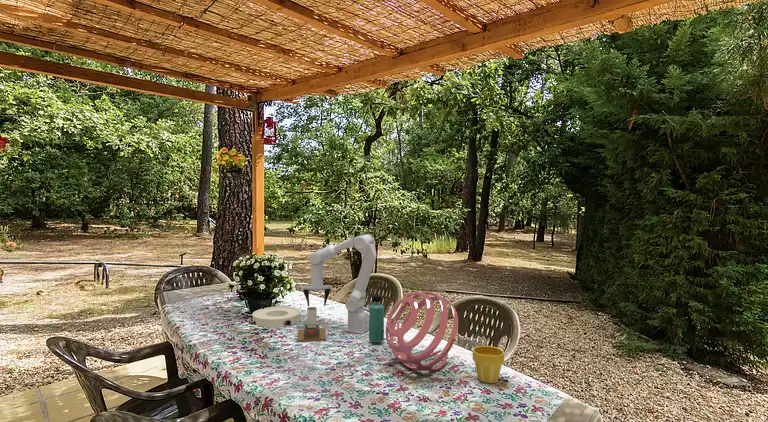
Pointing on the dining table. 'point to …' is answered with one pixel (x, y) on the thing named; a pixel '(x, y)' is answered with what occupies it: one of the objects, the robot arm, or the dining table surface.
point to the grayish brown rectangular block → (311, 317)
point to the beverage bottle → (376, 320)
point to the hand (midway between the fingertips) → (316, 305)
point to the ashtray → (276, 316)
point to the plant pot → (488, 363)
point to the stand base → (311, 334)
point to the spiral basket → (404, 347)
